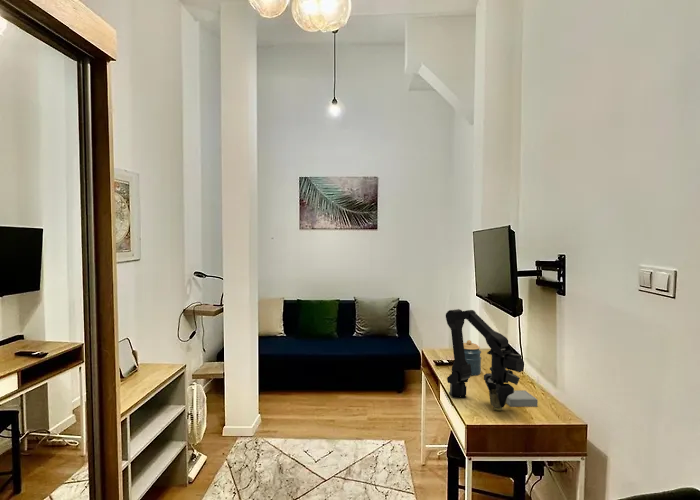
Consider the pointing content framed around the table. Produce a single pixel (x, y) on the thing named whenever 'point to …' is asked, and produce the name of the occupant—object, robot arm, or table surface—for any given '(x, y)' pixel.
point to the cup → (495, 400)
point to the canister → (473, 357)
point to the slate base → (521, 399)
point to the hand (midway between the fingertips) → (497, 403)
